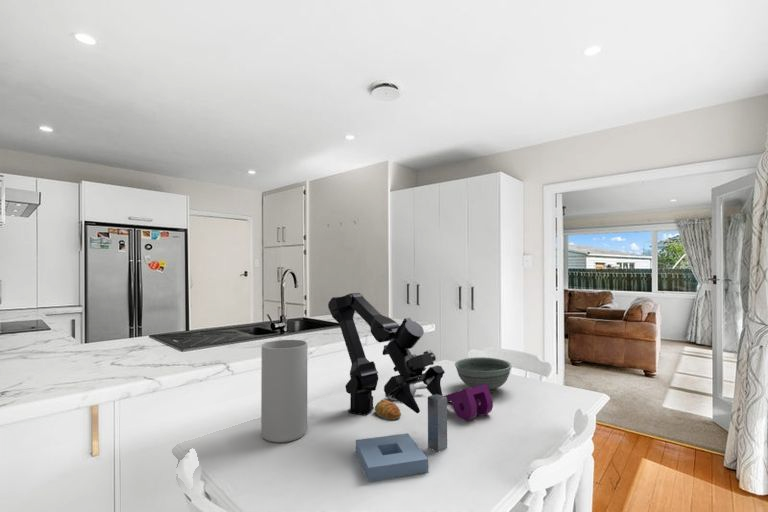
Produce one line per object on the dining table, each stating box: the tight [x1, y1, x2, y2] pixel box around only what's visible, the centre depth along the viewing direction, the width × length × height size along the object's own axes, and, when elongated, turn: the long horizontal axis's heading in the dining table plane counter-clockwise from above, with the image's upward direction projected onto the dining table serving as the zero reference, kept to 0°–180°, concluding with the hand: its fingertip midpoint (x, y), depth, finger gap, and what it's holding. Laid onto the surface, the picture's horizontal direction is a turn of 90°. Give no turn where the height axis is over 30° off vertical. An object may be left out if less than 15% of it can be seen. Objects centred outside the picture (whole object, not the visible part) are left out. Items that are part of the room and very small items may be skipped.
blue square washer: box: [355, 432, 429, 483], centre depth 94 cm, size 14×14×3 cm
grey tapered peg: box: [427, 394, 448, 453], centre depth 101 cm, size 4×4×13 cm
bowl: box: [454, 356, 512, 393], centre depth 147 cm, size 21×21×10 cm
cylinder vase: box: [260, 339, 308, 444], centre depth 109 cm, size 12×12×25 cm
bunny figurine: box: [384, 383, 427, 402], centre depth 140 cm, size 10×5×15 cm
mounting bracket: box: [444, 384, 494, 421], centre depth 126 cm, size 9×8×18 cm
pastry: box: [374, 399, 402, 421], centre depth 122 cm, size 9×7×4 cm
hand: (431, 408), depth 102 cm, fingers open, 9 cm apart
